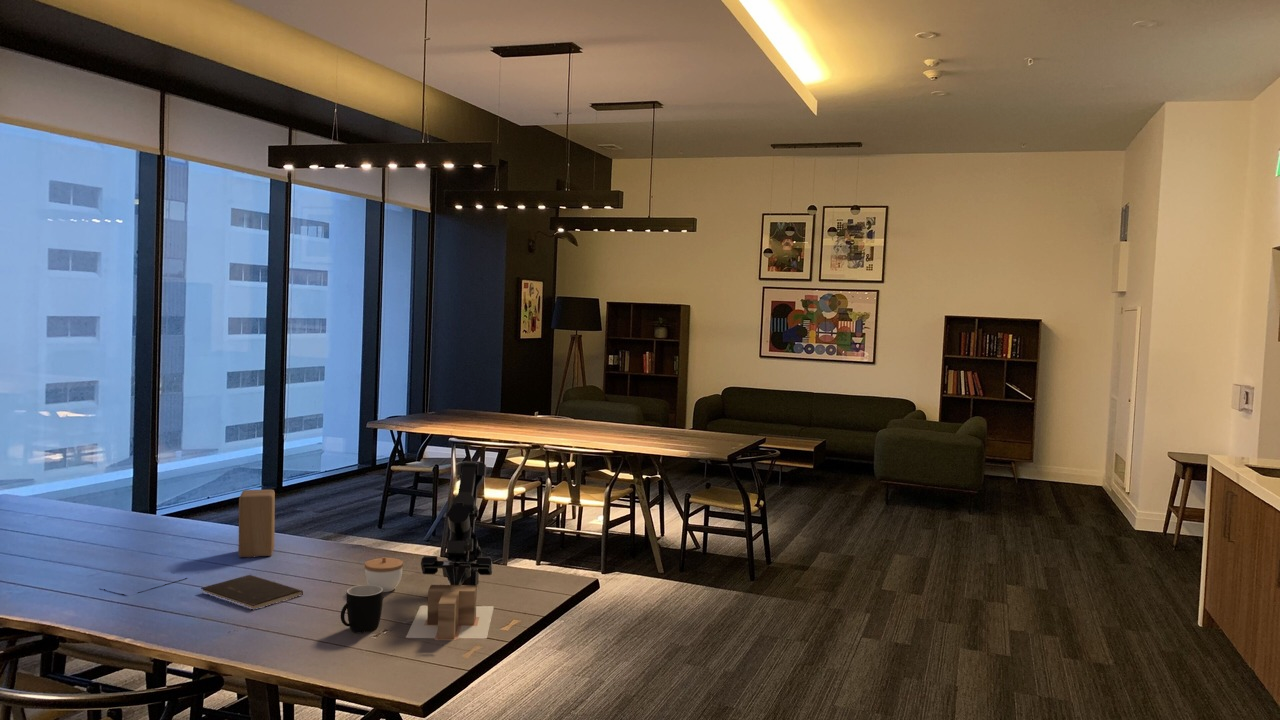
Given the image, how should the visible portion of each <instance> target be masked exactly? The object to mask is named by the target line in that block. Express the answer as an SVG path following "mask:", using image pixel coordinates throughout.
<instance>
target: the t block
mask: <svg viewBox="0 0 1280 720" xmlns="http://www.w3.org/2000/svg"><path fill="white" fill-rule="evenodd" d="M477 586H478V584H477V585H450V584H430V586H429V588H428V590H427V606H428V617H427V625H438V639H454V637H455V634H456V631H457V628H458V625H474V623H475V620H476V606H477V591H478V589H477V588H478V587H477Z"/></svg>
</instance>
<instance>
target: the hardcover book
mask: <svg viewBox="0 0 1280 720" xmlns="http://www.w3.org/2000/svg"><path fill="white" fill-rule="evenodd" d="M200 589H201V590H202V592H203V591H205V592H207V593H210V594H212V595H216V596H218V597H221V598H225V599H227V600H231V601H234V602H237V603H240V604H244V605H245V606H248V607H251V608H253V609H256V608H259V607H263V606H266V605H269V604H273V603H276V602H279V601H283V600H286V599H290V598H293V597H296V596H299V595H303V596H304V591H303V590H301V589H299V588H295V587H292V586H288V585H286V584H282V583H278V582H275V581H271V580H270V579H269V580H268V579H265V578H262V577H259V576H256V575H252V574H248V575H244V576H243V575H242V576H240V577H237V578H233V579H229V580H226V581H221V582H218V583H217V582H216V583H214V584H211V585H206V586H204V587H200ZM296 598H297V597H296ZM293 599H294V598H293ZM290 600H291V599H290ZM283 602H284V601H283Z"/></svg>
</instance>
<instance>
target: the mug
mask: <svg viewBox="0 0 1280 720" xmlns="http://www.w3.org/2000/svg"><path fill="white" fill-rule="evenodd" d="M345 595H346V597H345V598H346V599H345V600H346V603H344V605H343V607H342V609H341V611H340V621H341V623H342V624H343V626H346V627H349V628H350V630H351V631H352V632H353V633H356V634H364V633H369V632H373V631H375V630H377V629H378V627H379V624H380V621H381V617H382V609H383V602H384V599H383V598H384V592H383V589H382V588H381V587H380V586H376V585H368V584H361V585H360V584H359V585H355V586H351V587H349V588H348V589H346V594H345ZM346 613H347V621H348V622H347V621H346V619H345V616H346Z"/></svg>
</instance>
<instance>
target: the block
mask: <svg viewBox="0 0 1280 720" xmlns="http://www.w3.org/2000/svg"><path fill="white" fill-rule="evenodd" d="M275 495H276V493H275V489H245V490H242V491H241V494H240V495H239V497H238V556H239V558H241V557H247V558H258V557H257V556H269V557H272V555H273V552H274V550H275V549H274V548H275V530H276V529H275V527H276V526H275V525H276V524H275V519H276V518H275V513H276V511H275V509H276V507H275V506H276V503H275V502H276V499H275V498H276V496H275ZM254 556H255V557H254Z"/></svg>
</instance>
